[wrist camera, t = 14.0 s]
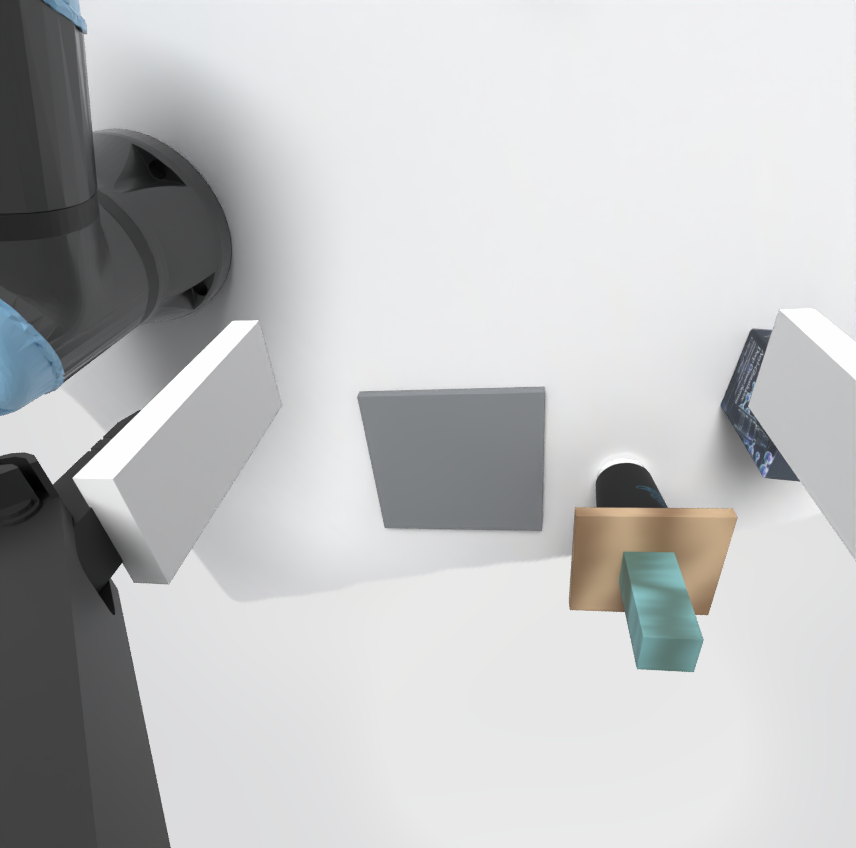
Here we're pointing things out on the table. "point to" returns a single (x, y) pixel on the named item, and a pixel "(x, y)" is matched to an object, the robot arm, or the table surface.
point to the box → (743, 417)
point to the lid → (651, 575)
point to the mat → (457, 457)
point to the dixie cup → (626, 486)
